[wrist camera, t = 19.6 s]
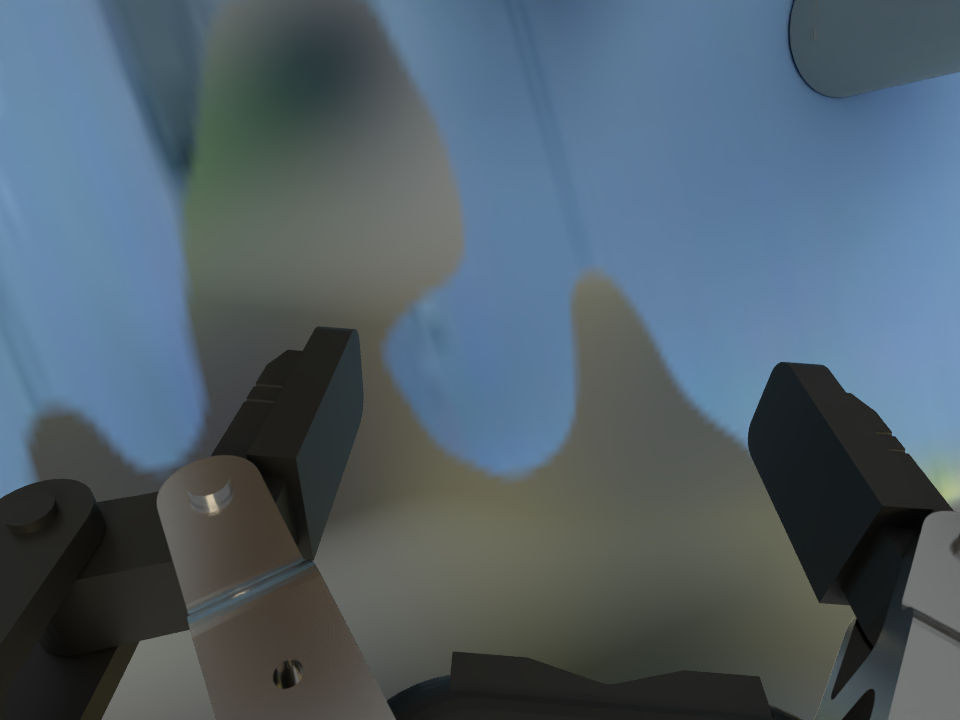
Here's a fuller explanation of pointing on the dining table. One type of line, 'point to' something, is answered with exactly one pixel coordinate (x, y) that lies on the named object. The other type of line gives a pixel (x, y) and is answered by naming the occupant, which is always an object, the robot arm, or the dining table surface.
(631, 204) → the dining table surface
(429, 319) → the dining table surface
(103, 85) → the dining table surface
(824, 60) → the robot arm
